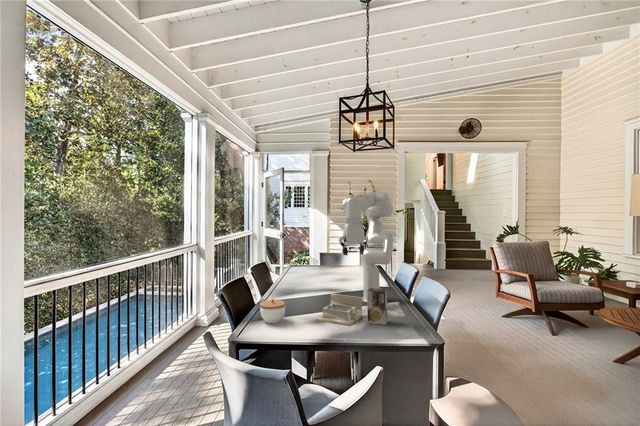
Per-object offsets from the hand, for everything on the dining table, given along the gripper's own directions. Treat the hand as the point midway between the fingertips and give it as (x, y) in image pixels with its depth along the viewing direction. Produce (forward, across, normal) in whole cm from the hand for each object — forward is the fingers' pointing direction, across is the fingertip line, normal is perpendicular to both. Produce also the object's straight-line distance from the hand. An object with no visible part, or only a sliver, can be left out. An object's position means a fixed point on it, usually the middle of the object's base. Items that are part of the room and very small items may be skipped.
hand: (353, 254), depth 187 cm
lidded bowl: (+33, +40, -11) cm, 53 cm away
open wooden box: (+32, +8, 0) cm, 33 cm away
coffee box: (+32, -6, +13) cm, 35 cm away
